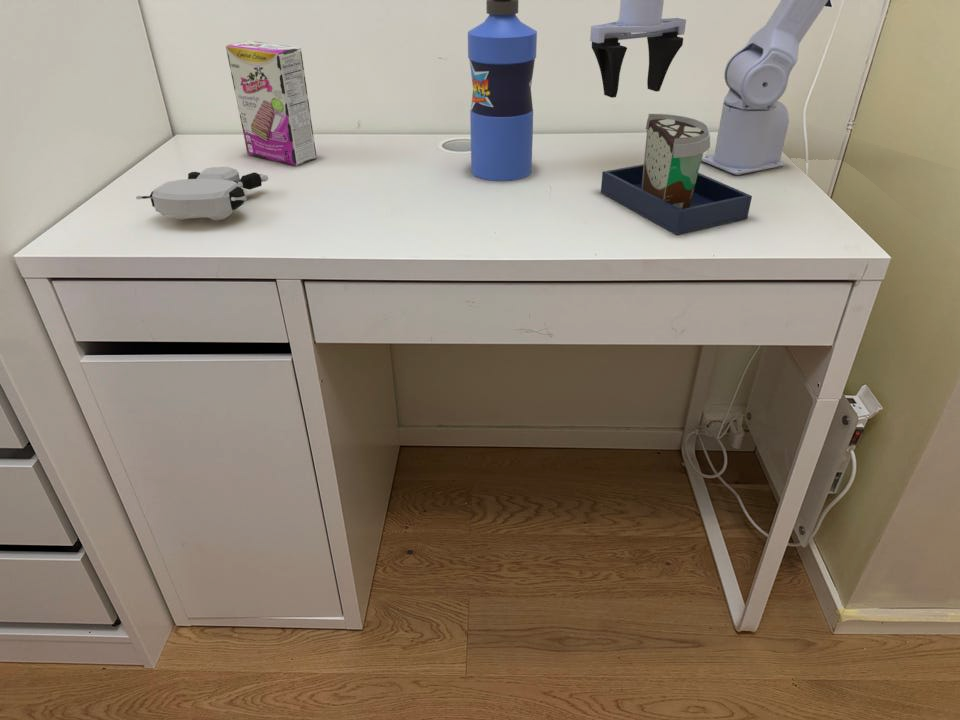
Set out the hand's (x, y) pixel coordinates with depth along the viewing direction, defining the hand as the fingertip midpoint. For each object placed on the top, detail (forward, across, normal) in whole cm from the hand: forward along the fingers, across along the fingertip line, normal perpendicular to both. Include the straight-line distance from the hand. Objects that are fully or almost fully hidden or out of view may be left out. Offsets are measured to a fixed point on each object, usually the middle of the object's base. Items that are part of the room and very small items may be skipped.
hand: (632, 93), depth 99 cm
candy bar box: (+11, +46, -28) cm, 55 cm away
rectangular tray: (+10, +4, +17) cm, 20 cm away
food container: (+10, +4, +17) cm, 20 cm away
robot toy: (+11, +59, -10) cm, 61 cm away
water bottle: (+11, +18, -6) cm, 22 cm away
